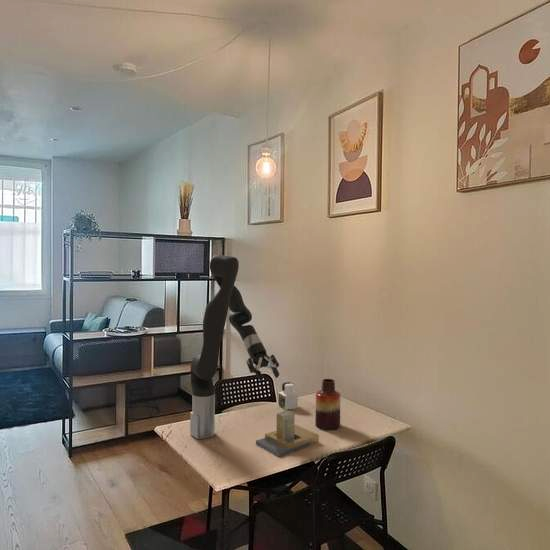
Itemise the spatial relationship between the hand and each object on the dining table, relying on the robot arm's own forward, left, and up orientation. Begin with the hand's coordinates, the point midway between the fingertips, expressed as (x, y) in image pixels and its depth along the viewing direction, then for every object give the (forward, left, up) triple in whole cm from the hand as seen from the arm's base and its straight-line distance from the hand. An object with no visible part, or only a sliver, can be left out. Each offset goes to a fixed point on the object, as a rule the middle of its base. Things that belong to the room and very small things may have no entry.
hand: (269, 378), depth 188 cm
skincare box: (-3, -14, -23) cm, 27 cm away
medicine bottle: (+26, +18, -23) cm, 39 cm away
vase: (+24, -11, -23) cm, 35 cm away
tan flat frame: (-2, -14, -23) cm, 27 cm away
